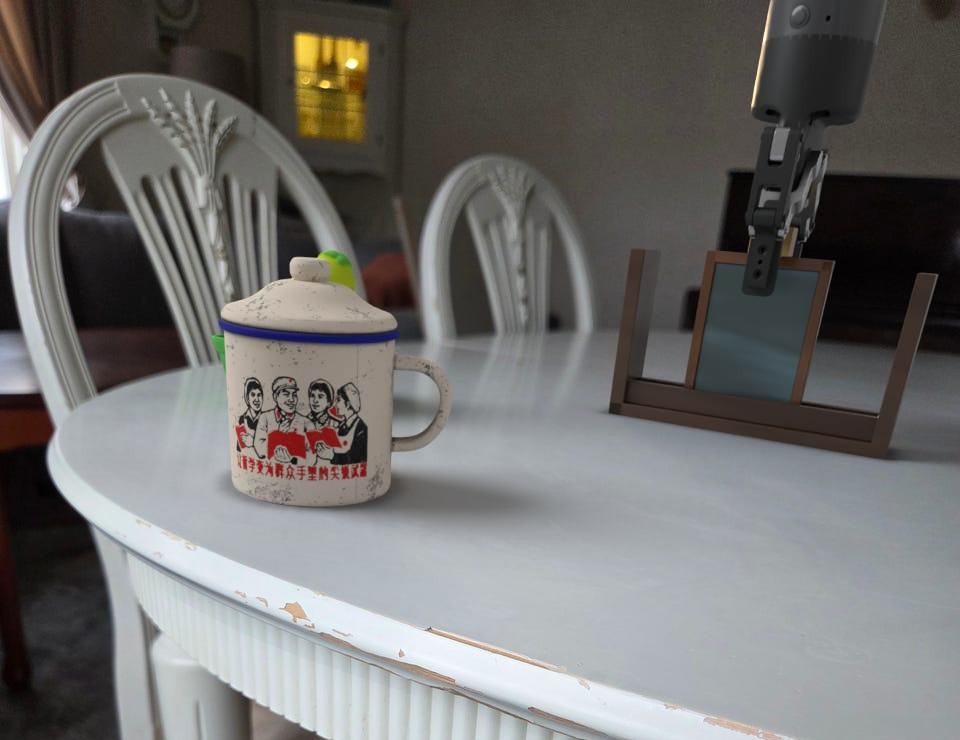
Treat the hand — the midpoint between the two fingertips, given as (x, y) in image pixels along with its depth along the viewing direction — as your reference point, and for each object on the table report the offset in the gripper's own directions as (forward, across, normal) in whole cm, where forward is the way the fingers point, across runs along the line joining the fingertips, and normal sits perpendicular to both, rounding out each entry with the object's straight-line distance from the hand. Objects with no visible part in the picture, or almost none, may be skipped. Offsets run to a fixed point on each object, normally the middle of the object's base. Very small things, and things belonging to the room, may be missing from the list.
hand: (767, 294), depth 66 cm
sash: (+9, 0, 0) cm, 9 cm away
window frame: (+11, 0, 0) cm, 11 cm away
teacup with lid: (+11, -35, +15) cm, 39 cm away
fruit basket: (+11, -18, +31) cm, 37 cm away
